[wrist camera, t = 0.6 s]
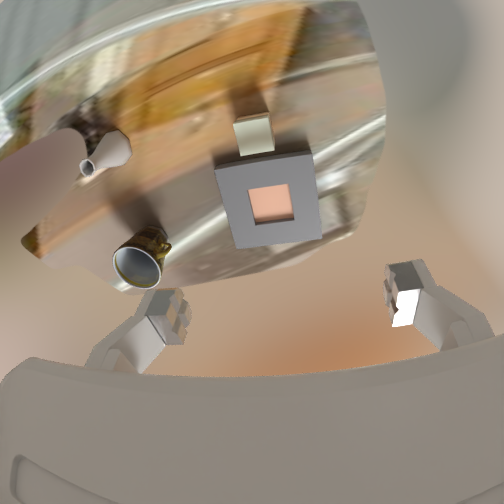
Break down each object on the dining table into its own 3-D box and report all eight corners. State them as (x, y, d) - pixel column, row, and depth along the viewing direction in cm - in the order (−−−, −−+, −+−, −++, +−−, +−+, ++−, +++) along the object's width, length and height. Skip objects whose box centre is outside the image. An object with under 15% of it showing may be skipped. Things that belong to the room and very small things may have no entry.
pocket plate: (216, 165, 49) (214, 170, 47) (310, 150, 46) (312, 154, 44) (238, 242, 58) (236, 249, 56) (320, 231, 55) (322, 238, 53)
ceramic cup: (151, 263, 63) (135, 294, 55) (124, 229, 58) (102, 258, 50) (197, 242, 59) (183, 275, 51) (168, 203, 54) (149, 231, 46)
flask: (111, 172, 51) (84, 195, 43) (94, 142, 47) (63, 160, 39) (139, 155, 49) (113, 176, 41) (120, 123, 45) (90, 138, 37)
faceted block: (238, 117, 44) (232, 124, 39) (269, 111, 43) (267, 117, 38) (245, 145, 46) (240, 156, 42) (275, 140, 45) (274, 150, 41)
